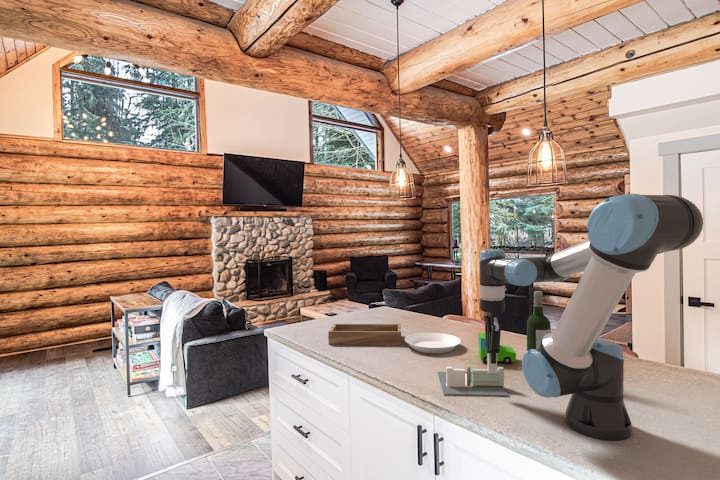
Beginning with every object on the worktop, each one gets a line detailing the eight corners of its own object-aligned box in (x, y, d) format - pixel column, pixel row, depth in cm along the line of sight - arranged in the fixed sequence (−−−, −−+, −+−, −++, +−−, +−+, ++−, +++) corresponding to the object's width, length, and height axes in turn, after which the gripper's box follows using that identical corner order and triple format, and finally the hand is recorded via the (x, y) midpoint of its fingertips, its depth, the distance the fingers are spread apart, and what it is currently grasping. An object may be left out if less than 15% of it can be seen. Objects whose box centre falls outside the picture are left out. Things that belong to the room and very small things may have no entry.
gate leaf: (473, 385, 132) (473, 368, 132) (472, 383, 134) (472, 366, 134) (504, 386, 132) (503, 368, 131) (502, 384, 133) (502, 366, 133)
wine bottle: (538, 369, 149) (538, 289, 148) (556, 376, 142) (555, 292, 141) (522, 372, 146) (521, 290, 145) (539, 379, 139) (538, 293, 138)
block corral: (401, 344, 184) (401, 332, 184) (328, 344, 187) (328, 331, 187) (401, 335, 200) (400, 324, 200) (333, 335, 203) (333, 323, 203)
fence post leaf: (471, 388, 132) (471, 368, 132) (447, 387, 133) (446, 368, 133) (470, 386, 134) (470, 366, 134) (446, 385, 135) (446, 366, 135)
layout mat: (508, 396, 125) (508, 394, 125) (444, 395, 127) (444, 393, 127) (493, 373, 145) (493, 372, 145) (437, 373, 147) (437, 371, 147)
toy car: (517, 365, 153) (516, 340, 153) (481, 364, 156) (480, 338, 156) (512, 357, 163) (512, 333, 163) (478, 356, 166) (478, 332, 166)
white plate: (401, 354, 171) (401, 346, 171) (408, 339, 195) (408, 331, 195) (461, 357, 165) (461, 349, 165) (460, 341, 189) (460, 333, 189)
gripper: (510, 302, 119) (510, 380, 120) (499, 294, 132) (499, 365, 133) (484, 302, 120) (484, 380, 120) (476, 294, 133) (476, 364, 133)
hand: (492, 372), depth 127 cm, fingers closed
